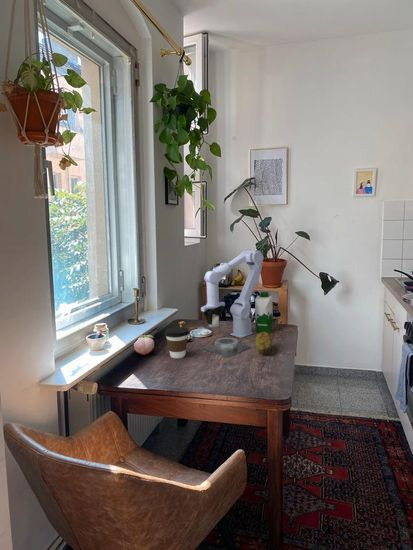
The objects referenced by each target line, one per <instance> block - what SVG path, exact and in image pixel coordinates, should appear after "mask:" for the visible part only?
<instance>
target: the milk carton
mask: <svg viewBox="0 0 413 550" xmlns="http://www.w3.org/2000/svg"><path fill="white" fill-rule="evenodd" d="M259 294H260V295H257V296H256V297H255V299H254V300H255V301H254V305H255V306H254V314H255V315H254V319H255V321H254V322H255V332H256V333H260V332H267V333H269V334H270V333H271V331H272V329H273V323H274V321H273V316H274V315H273V312H274V311H273V296H272V295H269V292H267V291H261V292H260V293H259Z"/></svg>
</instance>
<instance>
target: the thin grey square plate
mask: <svg viewBox="0 0 413 550" xmlns="http://www.w3.org/2000/svg"><path fill="white" fill-rule="evenodd" d="M251 348H252V346H249V345H247V344H243V343H239V340H238V339H237V338H233V337H220V338H217V339H215V341H214V343H213V344H211V345H207V346H204V347H202V348H201V350H203V351H206V352H210V353H213V354H215V355H219V356H221V357H224V358H229V357H233V356H235V355H238V354H240V353H242V352H245V351H247V350H249V349H251Z"/></svg>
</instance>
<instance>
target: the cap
mask: <svg viewBox="0 0 413 550" xmlns="http://www.w3.org/2000/svg"><path fill="white" fill-rule="evenodd" d="M219 326H220V322H219V316H218V315H215V313H213V315H212V324H211V325H210V324H208V327H209V328H218V327H219Z"/></svg>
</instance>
